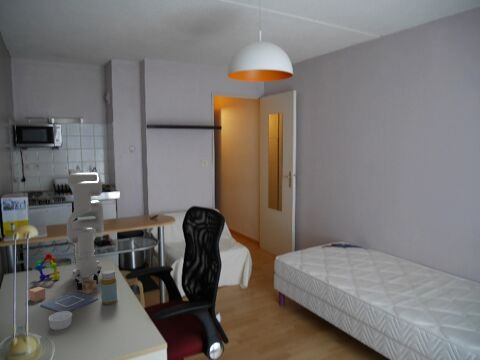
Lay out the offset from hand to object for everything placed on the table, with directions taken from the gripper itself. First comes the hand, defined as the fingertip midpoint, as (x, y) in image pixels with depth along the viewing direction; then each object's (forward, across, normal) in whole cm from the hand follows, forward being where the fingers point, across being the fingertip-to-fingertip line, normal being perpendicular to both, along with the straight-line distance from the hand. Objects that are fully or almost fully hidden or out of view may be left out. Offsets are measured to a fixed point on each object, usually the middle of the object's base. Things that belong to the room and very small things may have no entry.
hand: (87, 286), depth 187 cm
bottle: (+3, +4, +21) cm, 21 cm away
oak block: (+2, 0, 0) cm, 2 cm away
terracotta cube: (+2, +19, -13) cm, 23 cm away
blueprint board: (+2, +14, +5) cm, 15 cm away
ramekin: (+3, +30, +22) cm, 37 cm away
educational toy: (+2, 0, -34) cm, 34 cm away
